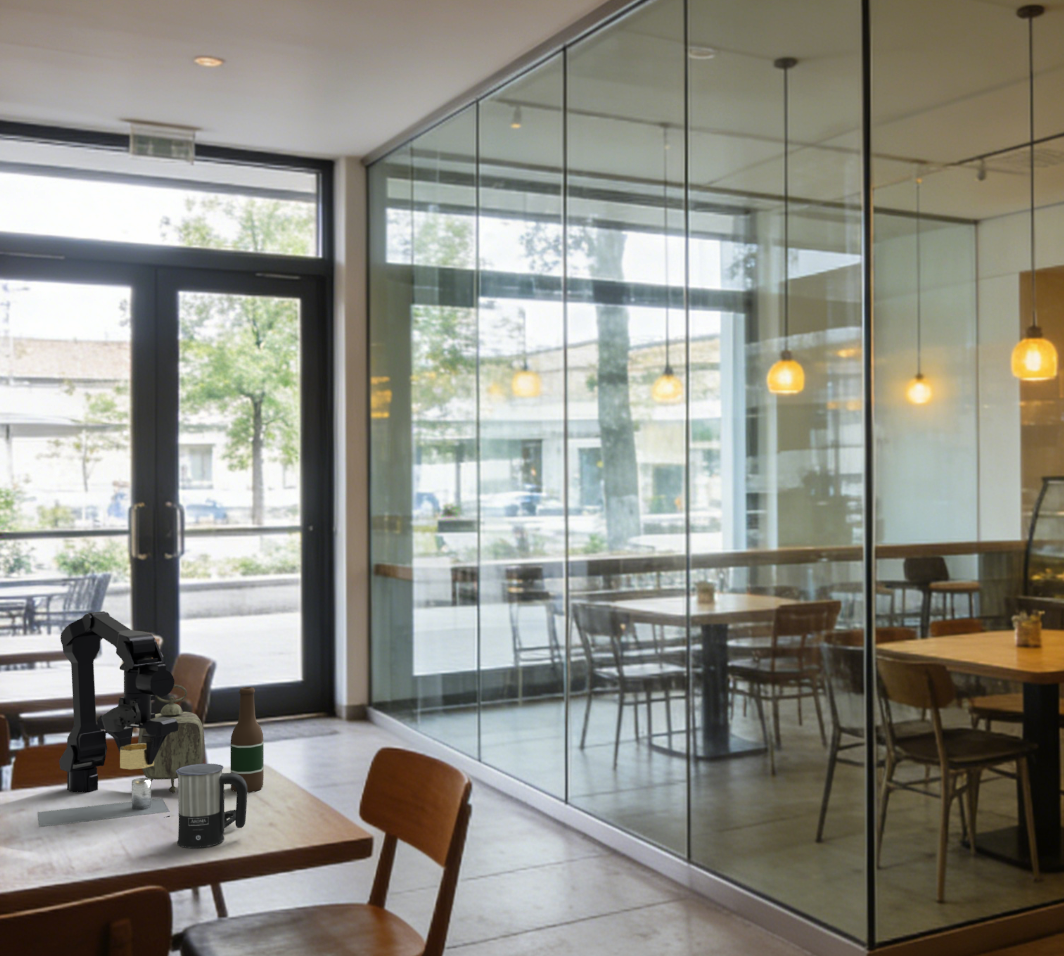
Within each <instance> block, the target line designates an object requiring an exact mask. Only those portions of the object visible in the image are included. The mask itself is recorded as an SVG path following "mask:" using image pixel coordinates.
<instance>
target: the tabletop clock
mask: <svg viewBox="0 0 1064 956" xmlns="http://www.w3.org/2000/svg"><path fill="white" fill-rule="evenodd" d="M176 688H177V689H180V690H183V691H184V696H181V697H180V698H177V699H175V697H174V696H169V699H163V698H161V697H159V696H155V698H156V699H157V700H158V701H159V702H161V703H165V705H164V706H163V707H162V708H161V710H160V713H155V718H154V719H158V718H162V717H167V718H175V719H176V720H177V721H178V731H175V732H171V733H170V734H168V735H167V736H166V738H165V739H164V741H163V743H162V745H161V747H160V749H159V751H158V753H157V755H156V757H155V759H154V766H150V767H147V768H142V769H141V770H142V772H143V775H144V776H145V777H144V778H150V779H151V783H152V782H153V780H158V781H159V780H161V781H162V780H170V784H171V786H170V787H169V789H168V791H169V792H170V793H171V794H174V793H176V792H177V788H176V787H175V780H176V779H177V780H178V775H177V773H176V770H178V769H179V768H182V767H185V766H189V765H196V764H204V759H205V750H206V749H205V747H206V740H205V731H204V726H203V724H202V721H201V719H200V718H199V716H198V715H197V714H196V713H193V712H189V711H183V709H182V707H181V706H180V705H179V704H177V703H178V702H180V701H181V702H182V701H184V699H186V698H187V696H188V691H187V688H185V687H184V686H183V685H181V684H174V687H173V689H176ZM154 719H151V720H154ZM141 724H142V723H141ZM138 729H139V730H138V740H137V744H141V743H146V741H145V739H144V738H143V737H142V735H145V734H148V733H147V732H146V729H144V728H138Z"/></svg>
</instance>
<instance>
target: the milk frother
mask: <svg viewBox="0 0 1064 956" xmlns="http://www.w3.org/2000/svg"><path fill="white" fill-rule="evenodd" d="M224 768H225V767H224V765H222V764H218V763H203V764H196V765H189V766H185V767H182V768H179V769H178V770H176V773H177V775H178V778H177V781H178V782H177V785H178V789H177V790H178V792H177V793H178V794H177V795H178V798H177V799H178V804H177V805H178V806H177V807H178V831H177V832H178V836H177V841H176V844H177V846H179V847H182V848H187V849H199V848H200V849H201V848H206V847H207V848H208V847H211V846H215V845H218V844H220V843H222V842H223V841H224V840H225V836H224V832H225V830H226V828H227V827H229V826H230V825H232V824H233V823H234V822H235V823H234V824H235V827H236V828H237V829H242V828H244V826H245V825H246V820H247V805H248V792H247V784H246V782H245V780H244V779H243V777H241V776H240V775H238V774H236V773H231V772H223V769H224ZM225 785H230V786H231V785H234V786H235V788H236V790H237V792H236V800H235V801H236V805H235V809H229V810H227V811H225Z"/></svg>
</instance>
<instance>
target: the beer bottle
mask: <svg viewBox="0 0 1064 956" xmlns="http://www.w3.org/2000/svg"><path fill="white" fill-rule="evenodd" d="M255 692H256V690H255V688H254V687H253V686H245V687H241V688H240V689H239V692H238V693H239V695H240V696H239V709H238V710H239V712H238V720H237V723H236V725H235V726H234V728H233V730H232V733H231V735H230V773H236V774H238V775H240V776H241V777H243V779H244V780H245V782H246V784H247V793H253V792H257V791H261V790H262V788H263V787H264V774H265V773H264V772H265V771H264V762H265V761H264V757H265V755H264V733H263V730H262V727H261V725H260V724H259V723H258V722H257V718H256V709H255V708H256V707H255V706H256V705H255ZM230 790H231V791H232V792H236V793H237V790H236V788H235V786H234V785H231V784H230Z"/></svg>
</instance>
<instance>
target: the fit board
mask: <svg viewBox="0 0 1064 956" xmlns="http://www.w3.org/2000/svg"><path fill="white" fill-rule="evenodd" d="M161 813H170V810H169V808H168V806H167V803H166V802H165V800H164V798H163V797H159V798H152V782H151V779H150V778H146V777H139V778H138V777H137V778H135V779H134V778H133V779H132V780H131V801H123V802H117V803H116V802H115V803H106V804H105V803H104V804H98V805H91V806H89V805H87V806H80V807H71V808H63V809H53V810H45V811H44V810H43V811H37V818H38V819H37V820H38V827H39V828H41V827H43V828H44V827H51V826H57V825H58V826H59V825H60V826H61V825H68V824H76V823H86V822H94V821H101V820H103V821H104V820H109V819H119V818H127V817H134V816H136V817H137V816H144V815H153V814H161ZM165 817H166V818H170V817H171V815H167V816H165ZM165 817H163V818H165Z"/></svg>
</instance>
